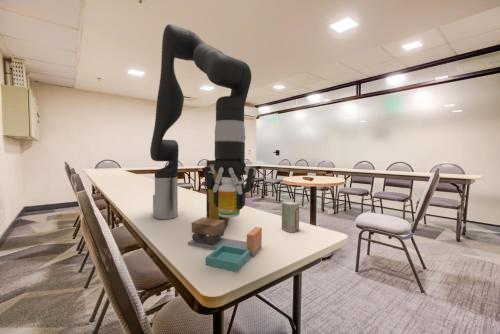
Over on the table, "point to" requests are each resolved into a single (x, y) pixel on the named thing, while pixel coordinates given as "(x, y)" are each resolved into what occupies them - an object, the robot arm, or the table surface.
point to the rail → (234, 242)
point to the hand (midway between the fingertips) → (229, 207)
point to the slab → (208, 229)
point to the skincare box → (290, 216)
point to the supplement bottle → (227, 199)
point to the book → (211, 208)
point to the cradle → (228, 257)
